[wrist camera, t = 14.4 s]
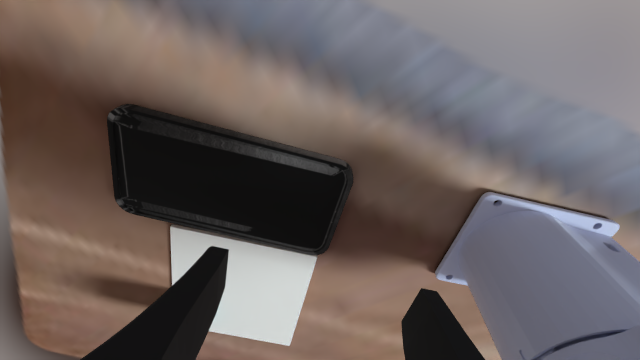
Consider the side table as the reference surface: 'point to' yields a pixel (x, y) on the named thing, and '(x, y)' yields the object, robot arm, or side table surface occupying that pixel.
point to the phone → (225, 180)
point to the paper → (249, 283)
